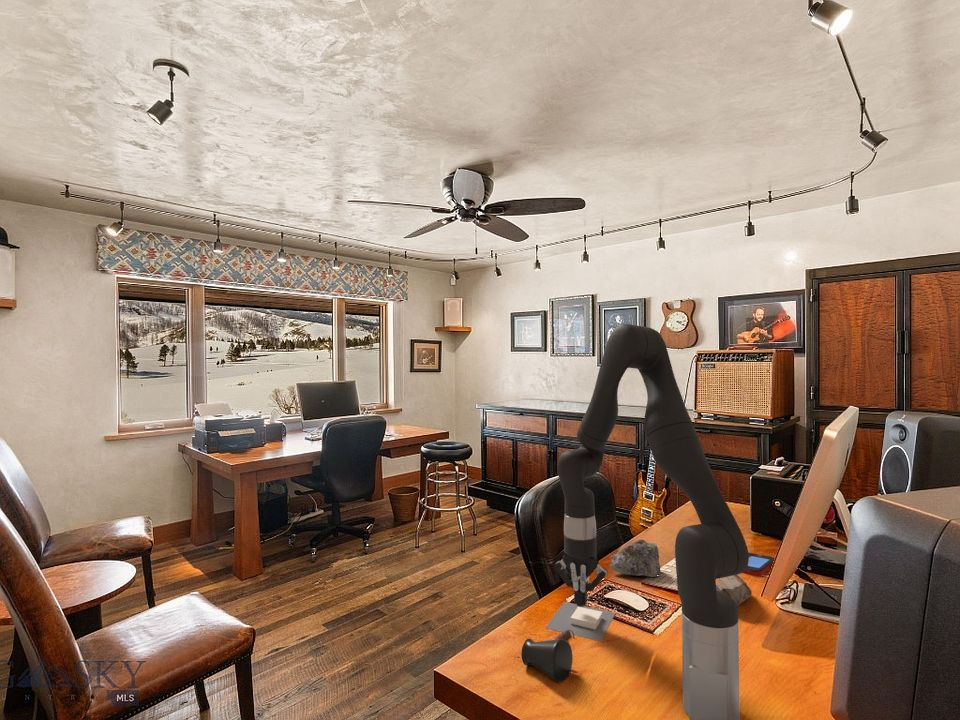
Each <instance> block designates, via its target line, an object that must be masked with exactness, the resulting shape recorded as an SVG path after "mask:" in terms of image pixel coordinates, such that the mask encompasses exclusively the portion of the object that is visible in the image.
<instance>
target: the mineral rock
mask: <svg viewBox="0 0 960 720" xmlns="http://www.w3.org/2000/svg"><path fill="white" fill-rule="evenodd" d="M610 559H611V563H610V564H609V568H610V570H611V571H613V572H616V573H619V574H623V575H626V576H638V577H639V576H643V577H651V578H652V577H653V578H655V577H654V576H657V575H660V576H661V572H662V570H661V564H660V562H659V561H660V554H659V548H658V545H657V543H655V542H647V540H646V541H645V540H644V539H640V538H639V539H637V540H636V541H633V542H632V543H631V544H630V545H627V546H625V547H623V548H621V550H620V551H619V552H617V553H615V554H612V555H611V557H610ZM657 577H658V576H657Z"/></svg>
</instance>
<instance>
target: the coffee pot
mask: <svg viewBox="0 0 960 720" xmlns="http://www.w3.org/2000/svg"><path fill="white" fill-rule="evenodd" d="M570 631H571V630H566V631H563V632H560V633H559V634H558V635H556V637H555V638H554V639H549V640H540V641H534V639H532V638H530V637H529V638H527V639H526V640H525V641H524V643H523V644H522V646H521V647H522V648H521V653H520V654H521V662H522V663H523V665H524V666H527V667H529V666H533V667H535V668H536V669H538V670H539V671H541V672H542V673H544V674H545V675H547V677H550V678H551V679H553V680H554V681H556V682H558V683H562V682H564V681H565V680H566V679H567V678H568V677H569V675H570V673H571V670H572V668H573V667H572V666H573V659H574V658H573V649H572V647H571V644H570V643H569V641H568V640H567V639H569V638H570V637H571V635H572V634H571V633H570ZM571 632H572V631H571ZM572 633H573V632H572ZM572 638H575V635H574V633H573V635H572Z"/></svg>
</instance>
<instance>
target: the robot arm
mask: <svg viewBox="0 0 960 720" xmlns="http://www.w3.org/2000/svg"><path fill="white" fill-rule="evenodd" d="M605 344H606V345H605V347H604V351H603V355H602V359H601V361H600V366H599V370H598V372H597V373H598V374H597V377H596V382H595V385H594V389H593V392H592V396H591V399H590V401H589V403H588V407H587V409H586V411H585V413H584V415H583V418H582V420H581V422H580V424H579V427H578V429H577V432H576V438H577V441H578V442H579V443H580V446H579V447H578V448H575V449H571V450H570V449H569V450H566V451H564V452H563V453H561V455H560V456H559V458H558V461H557V466H556V467H557V468H556V469H557V474H558V478H559V482H560V483H559V484H560V487H561V491H562V493H563V495H564V519H563V552H564V554H563V556H562V559H561V560H557V562H555V563H554V564H553V568H554V569H555V571H556V572H557V573H558V575H559V576H560V578H561V580H562V581H563V582H564V584H565V585H566V586H567V587H568V588H571V589H572V590H573V601H574V604H577V606H579V607H584V606H586V605H587V603H588V602H589V601H588V591H589V592H592V591H593V590H595V588H596V587H597V586H598V585H599V584H600V582H602V580H604V578H605V577H606V575H607V574H608V569H607V568H603V567H602V566H601V565H600V564H599V563H600V562H599V559H598V556H597V521H596V516H595V515H596V509H595V494H594V492H593V490H592V489H589V488H587V487H585V485H584V481H583V479H586V478H590V477H593V476H595V475H596V474H597V473H598V471H599V470H600V469H601V467H602V464H603V460H604V455H605V450H606V444H607V442H608V440H609V438H610V436H611V434H612V432H613V430H614V427H615V426H616V423H617V420H618V414H619V403H618V401H619V400H618V389H619V385H620V382H621V380H622V377H624V374H625V373H626V371H628V370H627V369H637V370H638V372H639V374H640V375H641V377H642V380H643V383H644V386H645V390H646V393H647V402H646V407H645V412H644V418H643V419H644V420H643V430H644V433H645V437H646V440H647V443H648V447H649V449H650V452H651V455H652V457H653V459H654V462H655V464H657V466H658V467H659V469H660V470H661V471H662V472H663V473H664V474H665V475H666V476H667V477H668V478H669V479H670V480H671V481H672V482H673V483H674V484H675V485H676V486H677V487H678V488H679V489H681V491H682V492H683V493H684V494H685V495H686V497H687V498H688V500H689V501H690V502H691V505H692V506H693V508H694V509H695V512H696V515H697V517H698V518H699V519H698V520H699V522H700V523H699V524H698V523H697V524H692V525H687V526H684V527H682V528H680V529H679V531H678V533H677V535H676V537H675V540H674V541H675V542H674V560H675V571H676V572H675V573H676V586H677V587H676V588H677V593H678V596H679V599H680V604H681V605H680V606H681V643H682V644H681V649H682V650H681V651H682V653H681V654H682V655H681V657H682V658H681V659H682V661H681V662H682V663H681V664H682V666H681V667H682V706H683V707H682V708H683V710H684V712H685V714H686V715H688V717H689V720H741V717H740V715H741V714H740V711H741V709H740V703H741V702H740V649H739V648H740V645H739V640H740V639H739V637H740V631H739V627H740V626H739V606H737V604H736V602H735V601H734V600H733V599H732V598H731V597H730V596H728V595H726V594H724V593H722V592H720V591H717V589H716V585H717V579H718V580H719V578H723V577H728V576H733V575H738V576H739V575H741V574H743V573H742V572H744V571H745V570H746V568H747V566H748V562H749V554H748V552H749V549H748V546H747V542H746V539H745V537H744V535H743V533H742V530H741V528H740V526H739V525H738V523H737V520H736V518H735V517H734V515H733V512H732V510H731V509H730V506H729V505H728V504H727V501H726V499H725V497H724V495H723V493H722V492H721V489H720V487H719V485H718V483H717V481H716V478H715V476H714V473H713V471H712V469H711V466H710V464H709V462H708V459H707V457H706V454H705V452H704V448H703V447H702V444H701V440H700V437H699V435H698V433H697V430H696V428H695V425H694V423H693V421H692V418H691V417H690V414H689V412H688V409H687V407H686V404H685V401H684V398H683V396H682V394H681V390H680V388H679V386H678V383H677V380H676V377H675V373H674V370H673V366H672V362H671V359H670V355H669V351H668V348H667V345H666V343H665V339H664V338H663V336H662V334H661V333H660V332H659V331H658V330H656V329H654V328H652V327H650V326H649V327H647V326H641V325H636V324H629V323H625V324H623V323H622V324H619V325H617V326H616V327H615V328H614V329H613V330H612V331H611V333H610V334H609V336H608V338H607V342H606V343H605ZM594 571H595V577H594V579H593V580H592V581H591V582H589V579H590V576H591V575H592V574H593V573H594Z"/></svg>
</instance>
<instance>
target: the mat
mask: <svg viewBox="0 0 960 720" xmlns="http://www.w3.org/2000/svg"><path fill="white" fill-rule="evenodd" d="M577 607H579V606H577V604H576V603H571V602H567V601H564V602H563V603H562V604H561V605H560V607H559V608H558V610H557V611H556V613H555V614H554V615H553V617H552V618H551V619H550V621H549V622H548V623H547V625H546V626H545V629H547V630H552V631H556V632H560V633H562V632H563V631H566V630H571V631H572V632H573V633H574V636H577V637H582V638H585V639H589V640H593V641H598V642H602V640H603V638H604V637H605V634H606V633H607V631H608V629H609V627H610V625H611V623H612V621H613V619H614V617H615V615H616V612H614V611H610V610H606V609H600V608H596V607H590V606H586V605H584V607H583V608H587V609H592V610H596V611H601V612H602V614H603V618H602V620H601V621H600V623H599V625H598V627H597V629H590V628H586V627H582V626H578V625H573V624H571V619H570V618H571V616H572V615H573V613H574V612H575V610H576V609H577ZM571 631H570V633H571V635H572V636H573V633H572V632H571Z"/></svg>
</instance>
